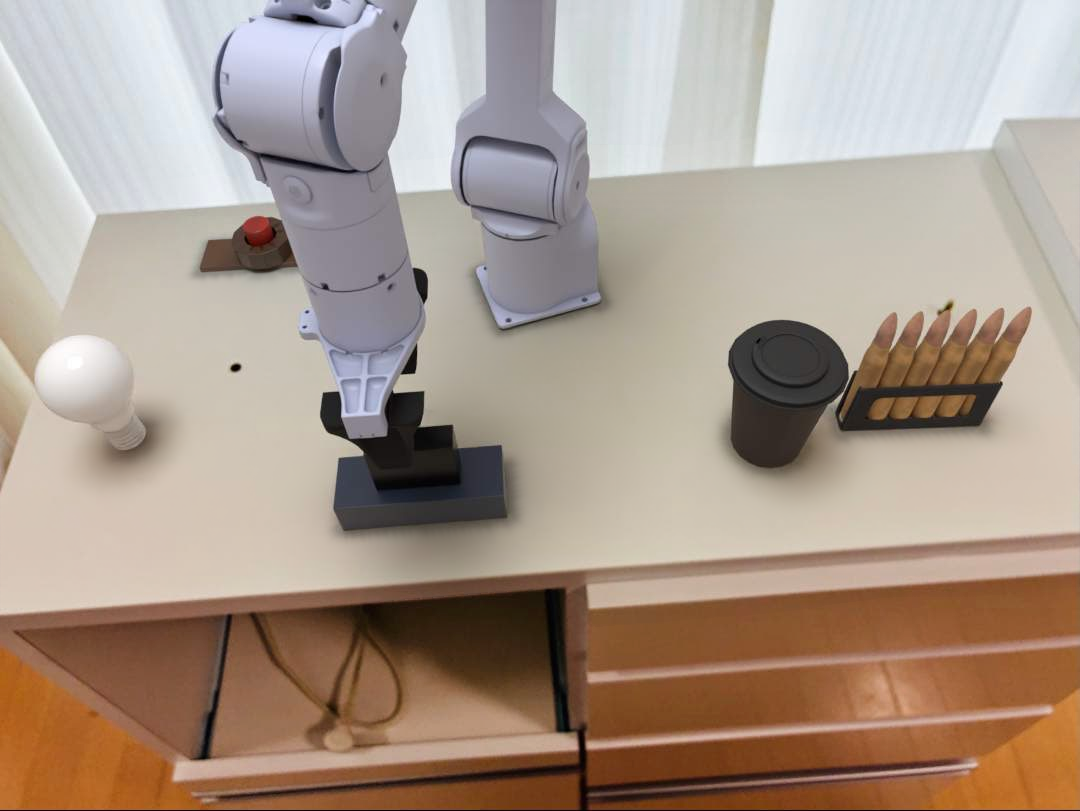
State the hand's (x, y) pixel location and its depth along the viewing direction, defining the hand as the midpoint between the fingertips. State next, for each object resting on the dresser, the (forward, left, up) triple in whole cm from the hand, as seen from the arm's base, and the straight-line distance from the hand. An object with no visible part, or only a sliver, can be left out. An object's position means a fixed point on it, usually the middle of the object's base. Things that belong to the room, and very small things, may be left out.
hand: (398, 415), depth 53 cm
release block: (+8, -32, -10) cm, 34 cm away
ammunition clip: (-37, +6, -10) cm, 39 cm away
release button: (+8, -32, -8) cm, 33 cm away
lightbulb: (+21, -13, -10) cm, 27 cm away
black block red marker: (0, 0, -7) cm, 7 cm away
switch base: (0, 0, -10) cm, 10 cm away
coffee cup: (-26, +4, -10) cm, 28 cm away
